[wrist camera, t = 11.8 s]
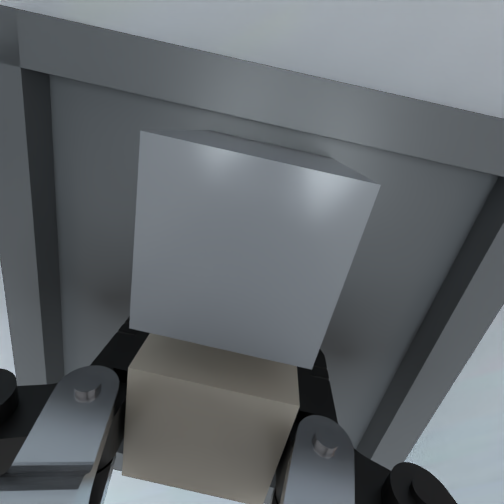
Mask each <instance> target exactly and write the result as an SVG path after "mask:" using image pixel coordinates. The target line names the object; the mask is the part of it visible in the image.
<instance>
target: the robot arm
mask: <svg viewBox="0 0 504 504" xmlns="http://www.w3.org/2000/svg"><path fill="white" fill-rule="evenodd" d="M129 321H130V316H129V317H128V319H127V320H126V321H125V323H124V324H123V325H122V326H121V327H120V329H119V330H118V332H116V334H115V335H114V336H113V337H112V339H111V340H110V341H109V342H108V344H107V345H106V346H105V347H104V348H103V350H102V351H101V352H100V353H99V355H98V356H97V357H96V358H95V360H94V361H93V362H92V363H91V365H90V366H85V367H81V368H78V369H76V370H74V371H72V372H70V373H68V374H67V375H65V376H64V377H63V378H62V379H61V380H60V381H59V382H58V383H55V384H45V385H25V386H17V381H16V377H15V375H14V374H13V373H11V372H10V371H8V370H5V369H0V504H104V500H105V497H106V493H107V489H108V485H109V482H110V478H111V474H112V471H113V467H114V463H115V459H116V452H117V450H118V448H119V446H120V444H121V442H122V440H123V438H124V430H125V413H126V395H127V377H128V367H129V365H130V364H131V362H132V361H133V359H134V357H135V356H136V354H137V353H138V351H139V350H140V348H141V346H142V345H143V343H144V342H145V340H146V339H147V337H148V335H149V334H150V333H148V332H143V331H139V330H135V329H130V328H129ZM297 374H298V388H299V402H300V407H299V410H298V412H297V415H296V418H295V420H294V423H293V426H292V428H291V431H290V434H289V436H288V439H287V442H286V444H285V447H284V450H283V452H282V455H281V458H280V460H279V463H278V466H277V468H276V484H275V487H274V490H273V492H272V495H271V500H270V504H457V503H456V501H455V500H454V499H453V497H452V496H451V495H450V493H449V492H448V491H447V489H446V488H445V487H444V486H443V484H442V483H441V482H440V481H439V480H438V479H437V478H436V477H435V476H433V475H432V474H431V473H430V472H428V471H427V470H425V469H424V468H422V467H420V466H418V465H416V464H413V463H408V462H402V463H398V464H396V465H395V466H394V467H393V469H392V470H389V469H387V468H385V467H383V466H381V465H380V464H378V463H376V462H374V461H372V460H371V459H369V458H367V457H365V456H364V455H362V454H361V453H359V452H358V451H357V450H356V449H354V448H353V444H352V442H351V439H350V438H349V436H348V434H347V433H346V432H345V430H344V429H343V428H342V427H341V426H340V425H339V424H338V421H337V416H336V411H335V406H334V401H333V395H332V390H331V385H330V381H329V375H328V370H327V365H326V360H325V355H324V354H323V352H322V351H321V349H319V352H318V354H317V357H316V360H315V362H314V365H313V368H312V370H311V369H307V368H302V367H298V366H297Z"/></svg>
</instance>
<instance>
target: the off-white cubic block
mask: <svg viewBox="0 0 504 504" xmlns="http://www.w3.org/2000/svg"><path fill="white" fill-rule="evenodd" d="M299 407H300V402H299V388H298V374H297V366H293V365H289V364H285V363H280V362H276V361H271V360H267V359H262V358H258V357H254V356H249V355H245V354H240V353H236V352H232V351H227V350H223V349H218V348H214V347H210V346H205V345H201V344H196V343H192V342H188V341H183V340H179V339H174V338H170V337H166V336H161V335H157V334H152V333H150V334H149V335H148V337H147V339H146V340H145V342H144V343H143V345H142V346H141V348H140V350H139V351H138V353H137V354H136V356H135V357H134V359H133V361H132V362H131V364H130V365H129V367H128V377H127V395H126V413H125V430H124V448H123V465H122V475H123V476H128V477H132V478H136V479H141V480H145V481H150V482H154V483H158V484H163V485H167V486H172V487H176V488H181V489H185V490H189V491H194V492H198V493H203V494H207V495H211V496H216V497H220V498H225V499H229V500H233V501H238V502H242V503H247V504H263V503H264V500H265V497H266V495H267V492H268V489H269V487H270V484H271V481H272V479H273V476H274V474H275V471H276V468H277V466H278V463H279V460H280V458H281V455H282V452H283V450H284V447H285V444H286V442H287V439H288V436H289V434H290V431H291V428H292V426H293V423H294V420H295V418H296V415H297V412H298V410H299Z"/></svg>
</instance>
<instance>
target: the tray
mask: <svg viewBox="0 0 504 504" xmlns="http://www.w3.org/2000/svg"><path fill="white" fill-rule="evenodd" d="M142 130H211V131H215V132H220V133H224V134H229V135H233V136H238V137H242V138H246V139H251V140H255V141H260V142H264V143H268V144H273V145H277V146H282V147H286V148H291V149H295V150H299V151H304V152H308V153H313V154H317V155H321V156H326V157H330V158H333V159H335V160H337V161H338V162H340V163H342V164H344V165H346V166H348V167H349V168H351V169H353V170H355V171H357V172H358V173H360V174H362V175H364V176H366V177H367V178H369V179H371V180H373V181H375V182H376V183H378V184H380V185H381V186H380V189H379V192H378V194H377V197H376V200H375V202H374V205H373V208H372V210H371V213H370V216H369V218H368V221H367V224H366V226H365V229H364V232H363V234H362V237H361V240H360V242H359V245H358V248H357V250H356V253H355V256H354V258H353V261H352V264H351V266H350V269H349V272H348V274H347V277H346V280H345V282H344V285H343V288H342V290H341V293H340V296H339V298H338V301H337V304H336V306H335V309H334V312H333V314H332V317H331V320H330V322H329V325H328V328H327V330H326V333H325V336H324V338H323V341H322V344H321V346H320V349H321V351H322V352H323V354H324V355H325V360H326V365H327V370H328V375H329V381H330V385H331V390H332V395H333V401H334V406H335V411H336V416H337V421H338V424H339V425H340V426H341V427H342V428H343V429H344V430H345V432H346V433H347V434H348V436H349V438H350V439H351V442H352V444H353V448H354V449H356V450H357V451H358V452H359V453H361V454H362V455H364V456H365V457H367V458H369V459H371V460H372V461H374V462H376V463H378V464H380V465H381V466H383V467H385V468H387V469H389V470H392V469H393V467H394V466H395V465H396V464H398V463H402V462H404V461H405V459H406V457H407V456H408V454H409V453H410V451H411V450H412V448H413V446H414V445H415V443H416V442H417V440H418V438H419V437H420V435H421V434H422V432H423V431H424V429H425V427H426V426H427V424H428V423H429V421H430V419H431V418H432V416H433V415H434V413H435V412H436V410H437V408H438V407H439V405H440V404H441V402H442V401H443V399H444V397H445V396H446V394H447V393H448V391H449V389H450V388H451V386H452V385H453V383H454V382H455V380H456V378H457V377H458V375H459V374H460V372H461V370H462V369H463V367H464V366H465V364H466V363H467V361H468V359H469V358H470V356H471V355H472V353H473V351H474V350H475V348H476V347H477V345H478V344H479V342H480V340H481V339H482V337H483V336H484V334H485V332H486V331H487V329H488V328H489V326H490V325H491V323H492V321H493V320H494V318H495V317H496V315H497V313H498V312H499V310H500V309H501V307H502V306H503V304H504V119H502V118H497V117H493V116H488V115H484V114H480V113H475V112H471V111H466V110H462V109H458V108H453V107H449V106H444V105H440V104H435V103H431V102H427V101H422V100H418V99H413V98H409V97H405V96H400V95H396V94H391V93H387V92H382V91H378V90H374V89H369V88H365V87H360V86H356V85H352V84H347V83H343V82H338V81H334V80H329V79H325V78H321V77H316V76H312V75H307V74H303V73H299V72H294V71H290V70H285V69H281V68H276V67H272V66H268V65H263V64H259V63H254V62H250V61H246V60H241V59H237V58H232V57H228V56H223V55H219V54H215V53H210V52H206V51H201V50H197V49H192V48H188V47H184V46H179V45H175V44H170V43H166V42H162V41H157V40H153V39H148V38H144V37H139V36H135V35H131V34H126V33H122V32H117V31H113V30H109V29H104V28H100V27H95V26H91V25H86V24H82V23H78V22H73V21H69V20H64V19H60V18H56V17H51V16H47V15H42V14H38V13H33V12H29V11H25V10H20V9H16V8H11V7H7V6H3V5H0V260H1V268H2V275H3V283H4V290H5V298H6V305H7V312H8V320H9V327H10V335H11V342H12V350H13V357H14V365H15V372H16V380H17V386H25V385H45V384H55V383H58V382H59V381H60V380H61V379H62V378H63V377H64V376H65V375H67V374H68V373H70V372H72V371H74V370H76V369H78V368H81V367H85V366H90V365H91V363H92V362H93V361H94V360H95V358H96V357H97V356H98V355H99V353H100V352H101V351H102V350H103V348H104V347H105V346H106V345H107V344H108V342H109V341H110V340H111V339H112V337H113V336H114V335H115V334H116V332H118V330H119V329H120V327H121V326H122V325H123V324H124V323H125V321H126V320H127V319H128V317H129V316H130V303H131V286H132V269H133V251H134V234H135V216H136V199H137V181H138V164H139V146H140V131H142ZM123 448H124V438H123V440H122V442H121V444H120V446H119V448H118V450H117V452H116V459H115V463H114V467H113V469H115V470H119V471H122V465H123ZM275 484H276V471H275V474H274V476H273V479H272V481H271V484H270V487H269V489H268V492H267V495H266V497H265V500H264V504H270V500H271V495H272V492H273V490H274V487H275Z"/></svg>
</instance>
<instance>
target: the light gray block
mask: <svg viewBox="0 0 504 504" xmlns="http://www.w3.org/2000/svg"><path fill="white" fill-rule="evenodd" d="M380 186H381V185H380V184H378V183H376V182H375V181H373V180H371V179H369V178H367V177H366V176H364V175H362V174H360V173H358V172H357V171H355V170H353V169H351V168H349V167H348V166H346V165H344V164H342V163H340V162H338V161H337V160H335V159H333V158H330V157H326V156H321V155H317V154H313V153H308V152H304V151H299V150H295V149H291V148H286V147H282V146H277V145H273V144H268V143H264V142H260V141H255V140H251V139H246V138H242V137H238V136H233V135H229V134H224V133H220V132H215V131H211V130H142V131H140V146H139V164H138V181H137V199H136V216H135V234H134V251H133V269H132V286H131V303H130V321H129V328H130V329H135V330H139V331H143V332H148V333H152V334H157V335H161V336H166V337H170V338H174V339H179V340H183V341H188V342H192V343H196V344H201V345H205V346H210V347H214V348H218V349H223V350H227V351H232V352H236V353H240V354H245V355H249V356H254V357H258V358H262V359H267V360H271V361H276V362H280V363H285V364H289V365H293V366H298V367H302V368H307V369H311V370H312V368H313V365H314V362H315V360H316V357H317V354H318V352H319V349H320V346H321V344H322V341H323V338H324V336H325V333H326V330H327V328H328V325H329V322H330V320H331V317H332V314H333V312H334V309H335V306H336V304H337V301H338V298H339V296H340V293H341V290H342V288H343V285H344V282H345V280H346V277H347V274H348V272H349V269H350V266H351V264H352V261H353V258H354V256H355V253H356V250H357V248H358V245H359V242H360V240H361V237H362V234H363V232H364V229H365V226H366V224H367V221H368V218H369V216H370V213H371V210H372V208H373V205H374V202H375V200H376V197H377V194H378V192H379V189H380Z"/></svg>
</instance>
